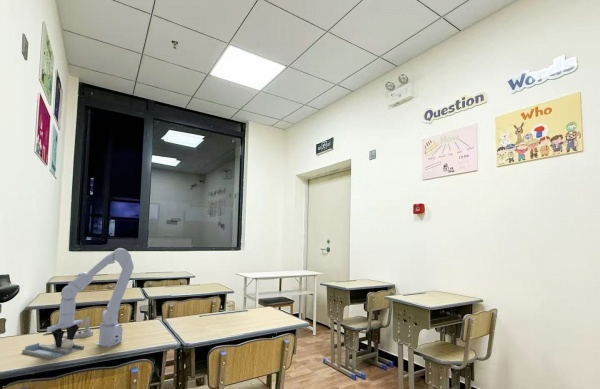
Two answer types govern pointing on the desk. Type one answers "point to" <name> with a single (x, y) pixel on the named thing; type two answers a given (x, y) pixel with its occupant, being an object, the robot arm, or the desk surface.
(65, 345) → the beige rounded block
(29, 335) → the desk surface
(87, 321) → the electronic device
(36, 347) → the tray
